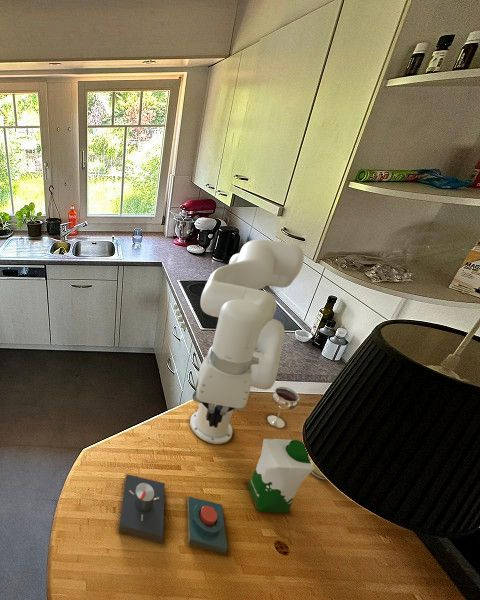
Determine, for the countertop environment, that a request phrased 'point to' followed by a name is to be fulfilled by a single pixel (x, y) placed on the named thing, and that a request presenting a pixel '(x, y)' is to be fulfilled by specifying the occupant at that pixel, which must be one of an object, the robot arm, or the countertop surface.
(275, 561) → the countertop surface
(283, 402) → the wineglass
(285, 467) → the milk carton
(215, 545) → the teal button housing
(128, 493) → the plate
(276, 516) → the countertop surface
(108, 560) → the countertop surface
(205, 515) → the button
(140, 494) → the rotary knob
